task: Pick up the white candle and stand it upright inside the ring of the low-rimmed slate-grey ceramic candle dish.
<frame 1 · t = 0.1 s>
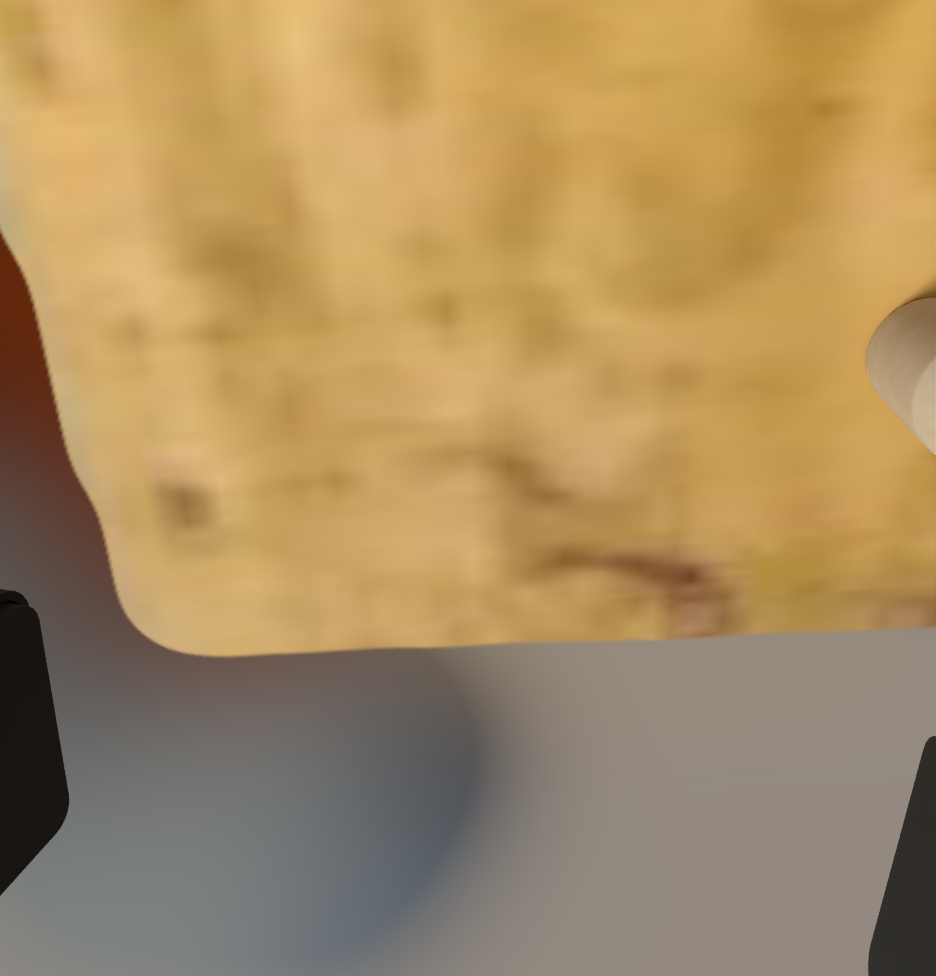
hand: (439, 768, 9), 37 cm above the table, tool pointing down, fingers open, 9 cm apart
candle: (926, 353, 41), on the table
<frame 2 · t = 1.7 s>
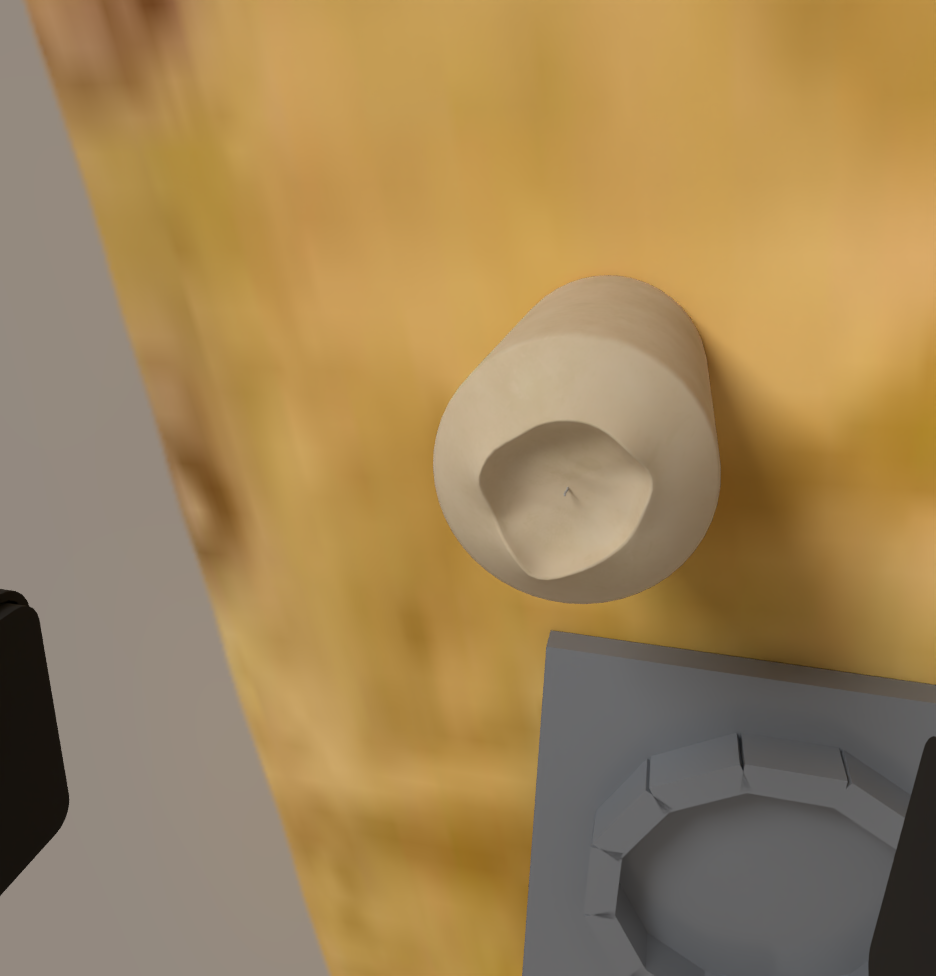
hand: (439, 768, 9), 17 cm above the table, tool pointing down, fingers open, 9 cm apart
candle: (606, 371, 24), on the table
candle dish: (758, 856, 29), on the table
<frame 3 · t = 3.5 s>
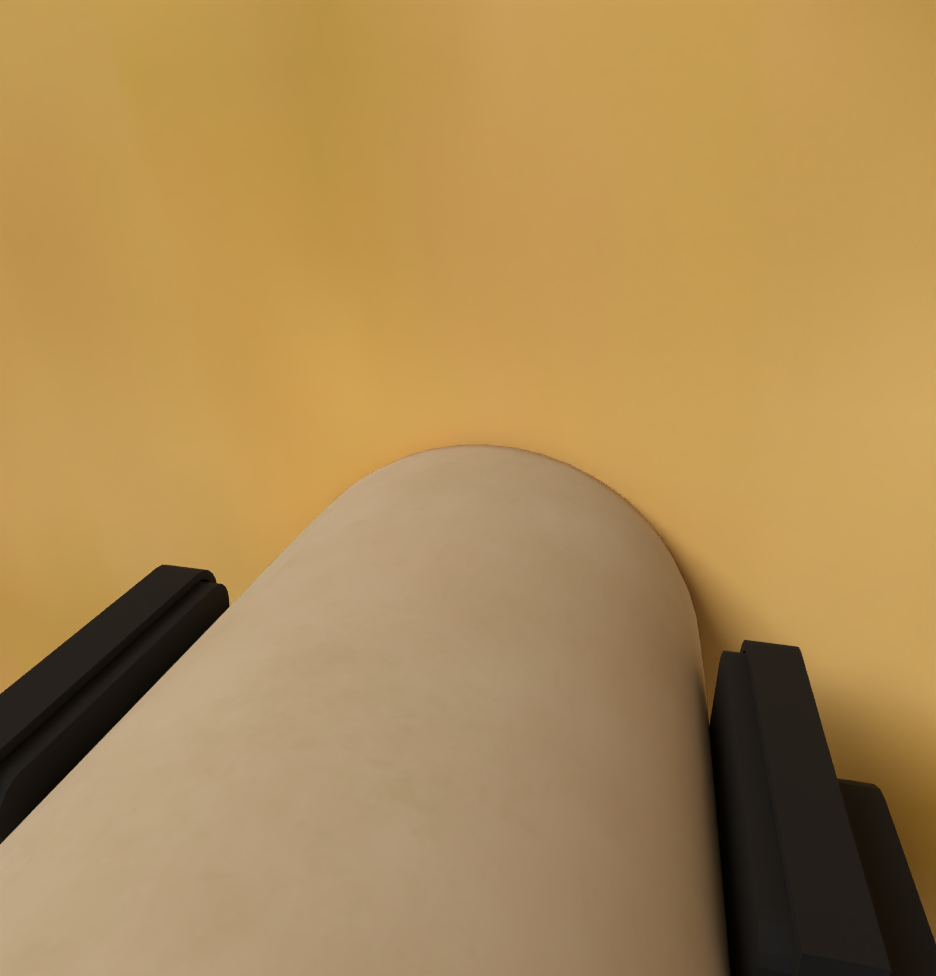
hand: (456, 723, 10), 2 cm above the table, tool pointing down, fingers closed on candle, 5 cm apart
candle: (492, 625, 12), on the table, touching gripper
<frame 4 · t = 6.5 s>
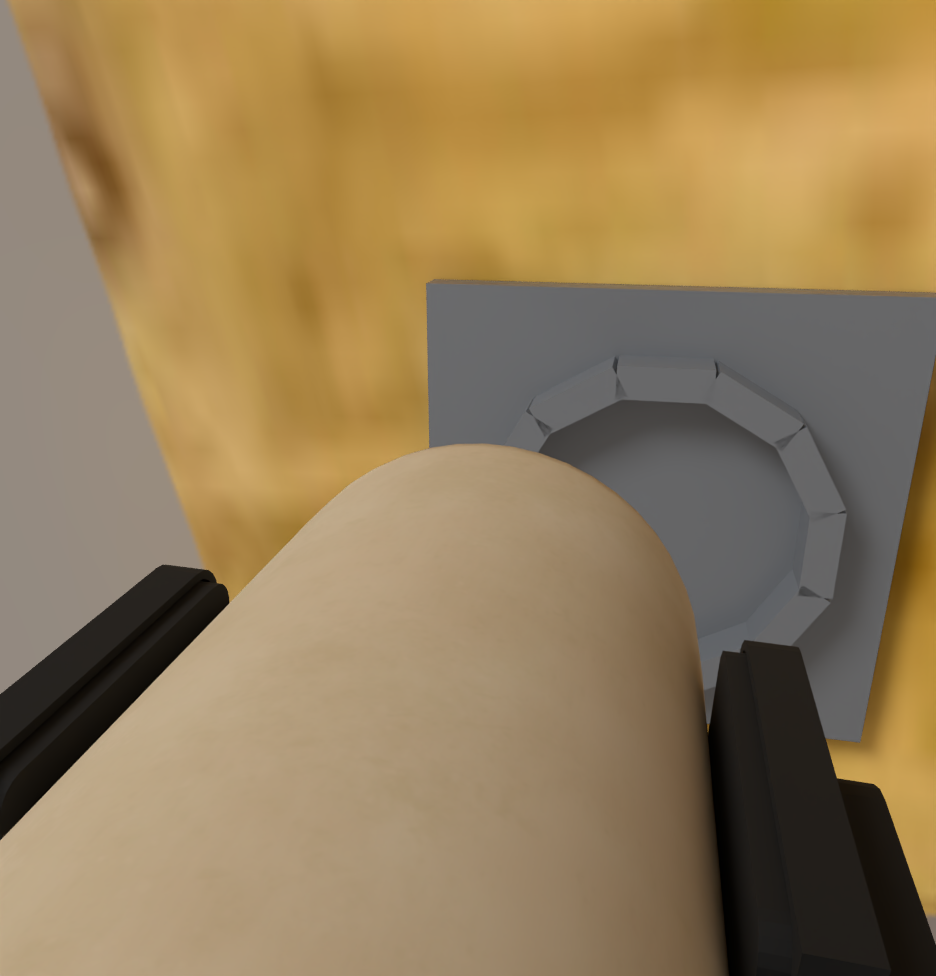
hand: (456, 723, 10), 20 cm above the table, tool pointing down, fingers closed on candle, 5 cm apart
candle: (489, 624, 12), point 17 cm above the table, touching gripper
candle dish: (653, 511, 29), on the table
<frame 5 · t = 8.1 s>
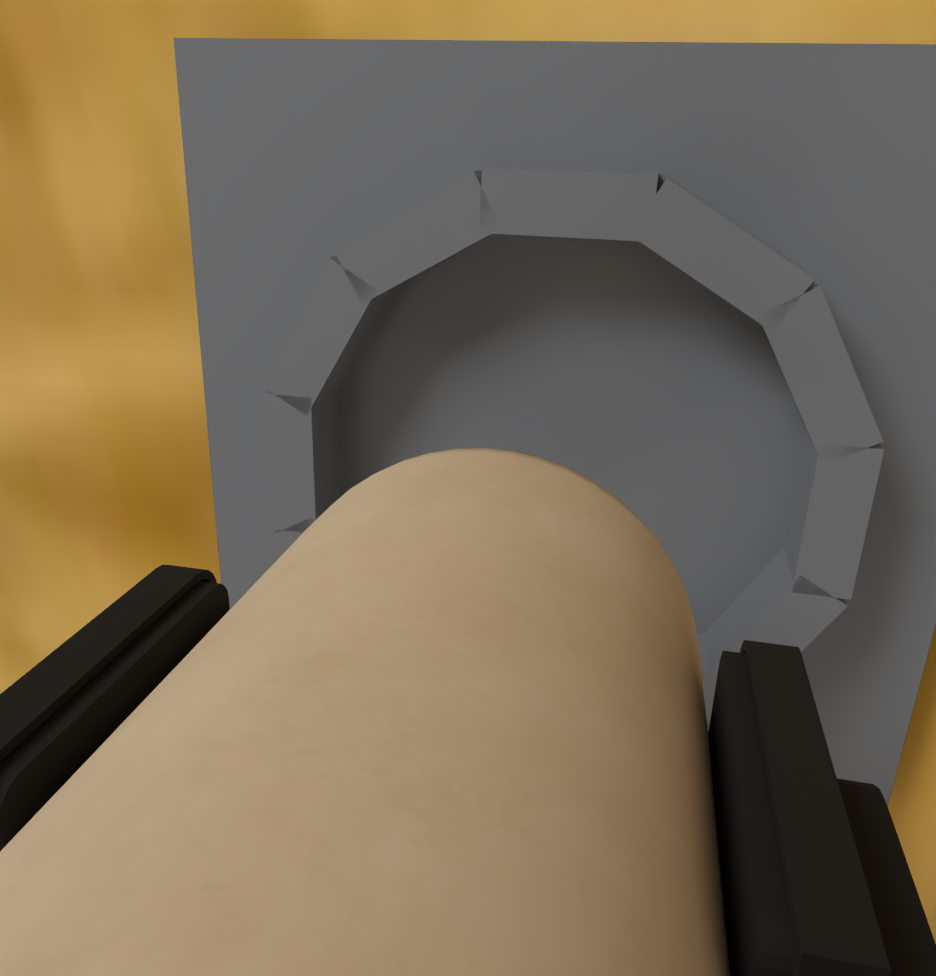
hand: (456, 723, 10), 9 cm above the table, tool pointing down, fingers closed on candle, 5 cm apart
candle: (490, 628, 12), point 7 cm above the table, touching gripper
candle dish: (561, 449, 18), on the table
when the fingers open (4 cm above the table, at t = 9.5 s): candle stays where it is, resting on candle dish.
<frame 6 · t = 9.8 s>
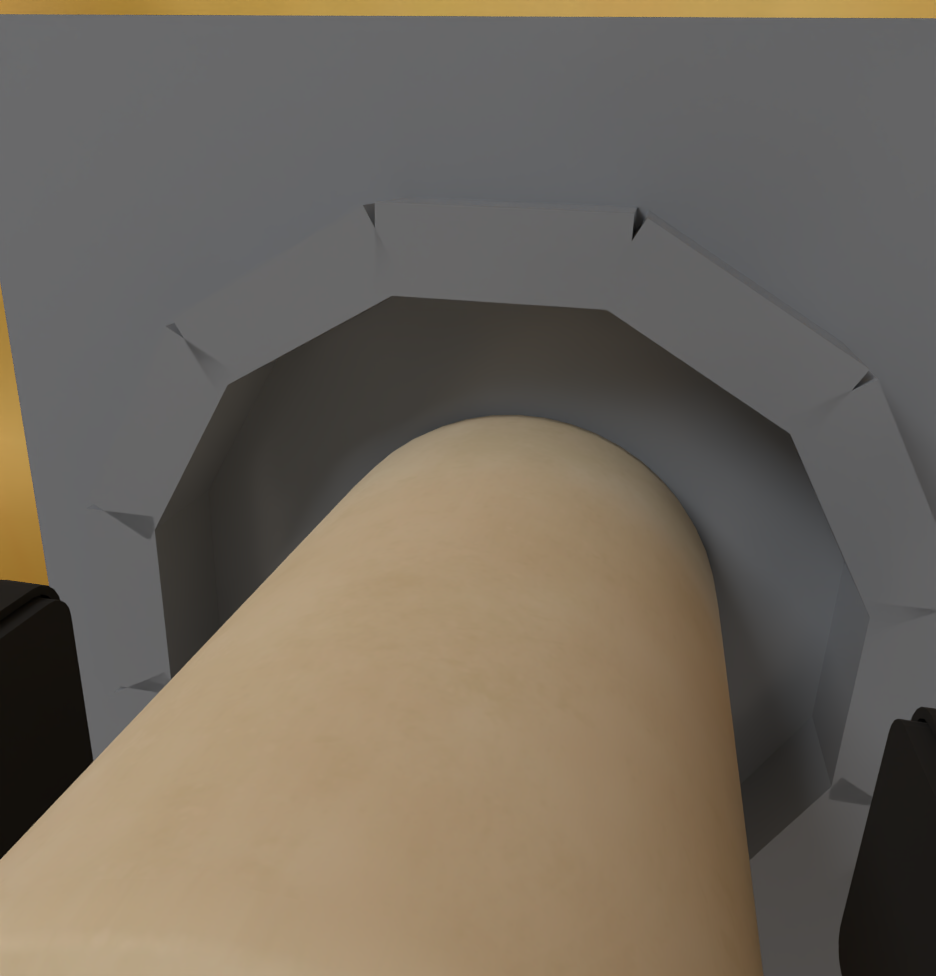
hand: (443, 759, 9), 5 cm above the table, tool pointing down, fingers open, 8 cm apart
candle: (519, 587, 13), point 1 cm above the table, touching candle dish
candle dish: (512, 570, 13), on the table
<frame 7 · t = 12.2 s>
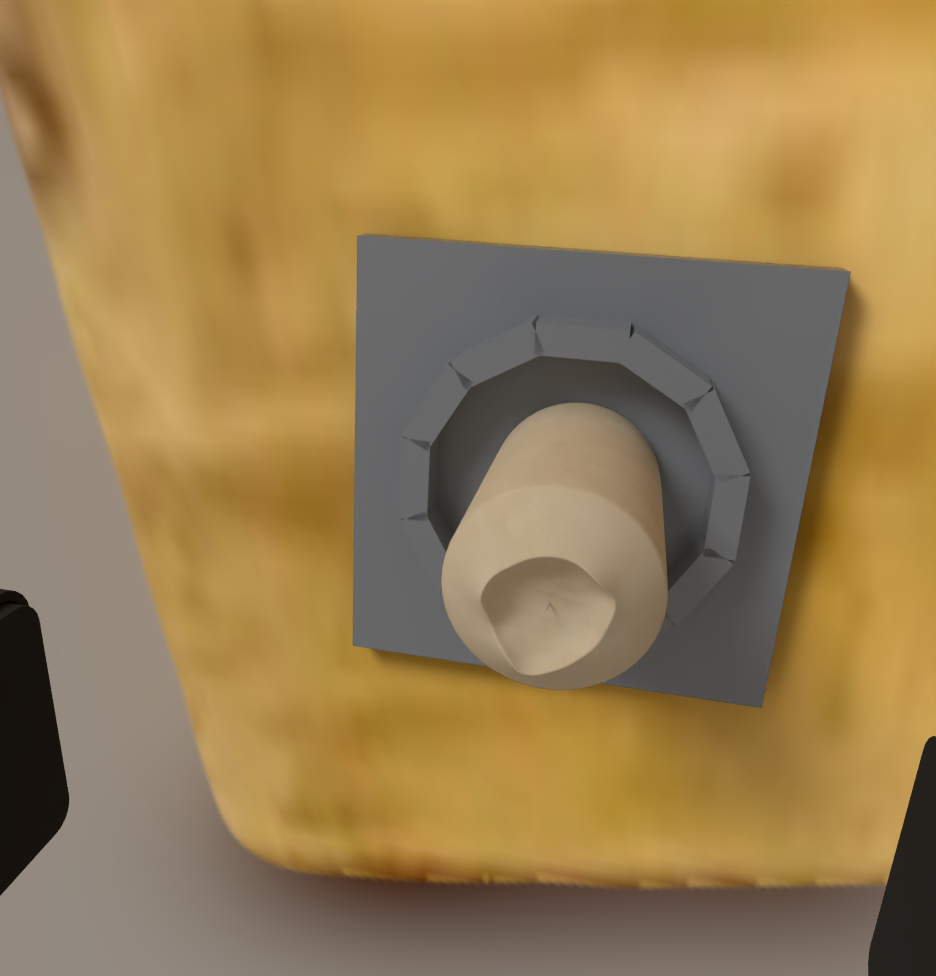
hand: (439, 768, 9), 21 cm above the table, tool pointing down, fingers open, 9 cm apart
candle: (576, 478, 29), point 1 cm above the table, touching candle dish
candle dish: (571, 473, 30), on the table
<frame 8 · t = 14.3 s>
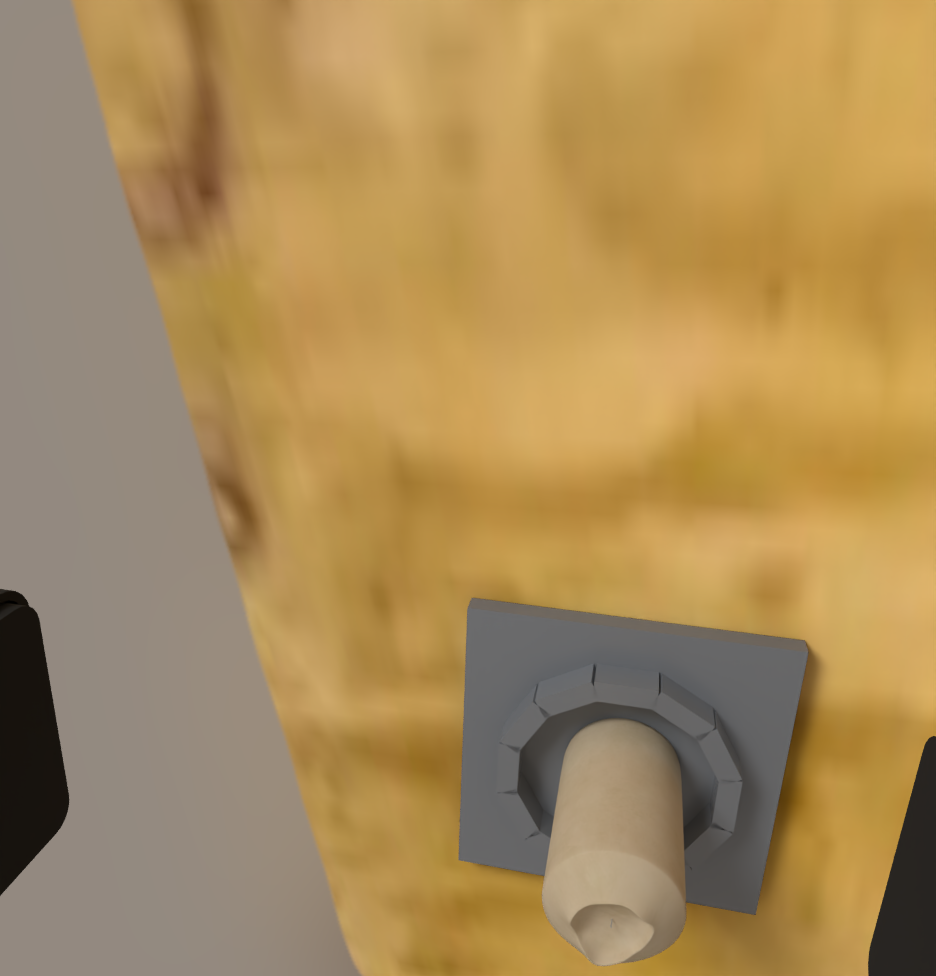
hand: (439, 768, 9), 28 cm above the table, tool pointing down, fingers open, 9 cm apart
candle: (621, 762, 41), point 1 cm above the table, touching candle dish
candle dish: (617, 753, 42), on the table
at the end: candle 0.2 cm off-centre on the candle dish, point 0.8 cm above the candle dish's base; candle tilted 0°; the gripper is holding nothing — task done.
